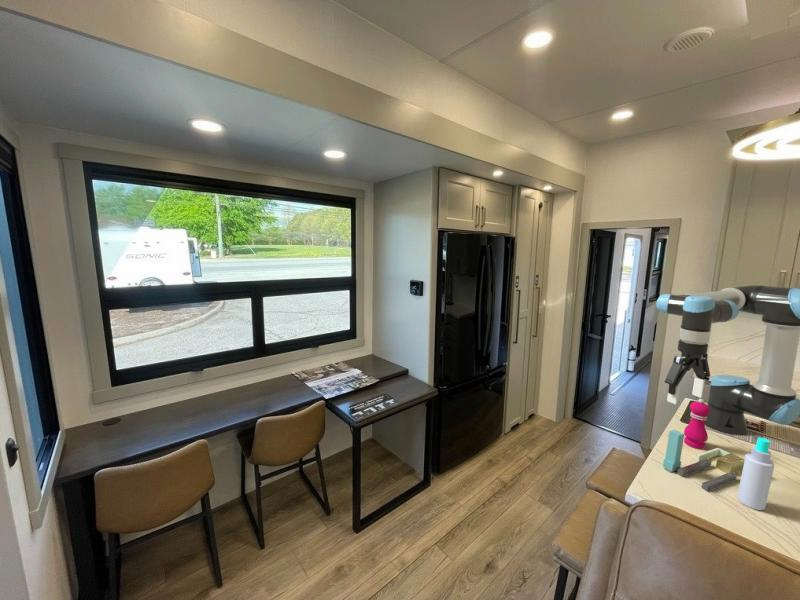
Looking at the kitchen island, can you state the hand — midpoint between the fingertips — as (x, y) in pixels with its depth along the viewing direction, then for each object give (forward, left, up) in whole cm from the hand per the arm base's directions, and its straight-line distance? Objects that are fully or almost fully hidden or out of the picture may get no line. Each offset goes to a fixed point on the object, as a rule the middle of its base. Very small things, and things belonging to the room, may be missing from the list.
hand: (684, 399), depth 114 cm
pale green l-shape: (-19, +7, -27) cm, 34 cm away
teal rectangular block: (+2, 0, -27) cm, 27 cm away
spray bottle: (-4, +19, -27) cm, 33 cm away
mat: (+2, 0, -27) cm, 27 cm away
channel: (-5, +7, -27) cm, 28 cm away
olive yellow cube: (-17, +7, -27) cm, 32 cm away
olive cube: (-21, +7, -27) cm, 35 cm away
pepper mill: (-23, -7, -27) cm, 36 cm away
